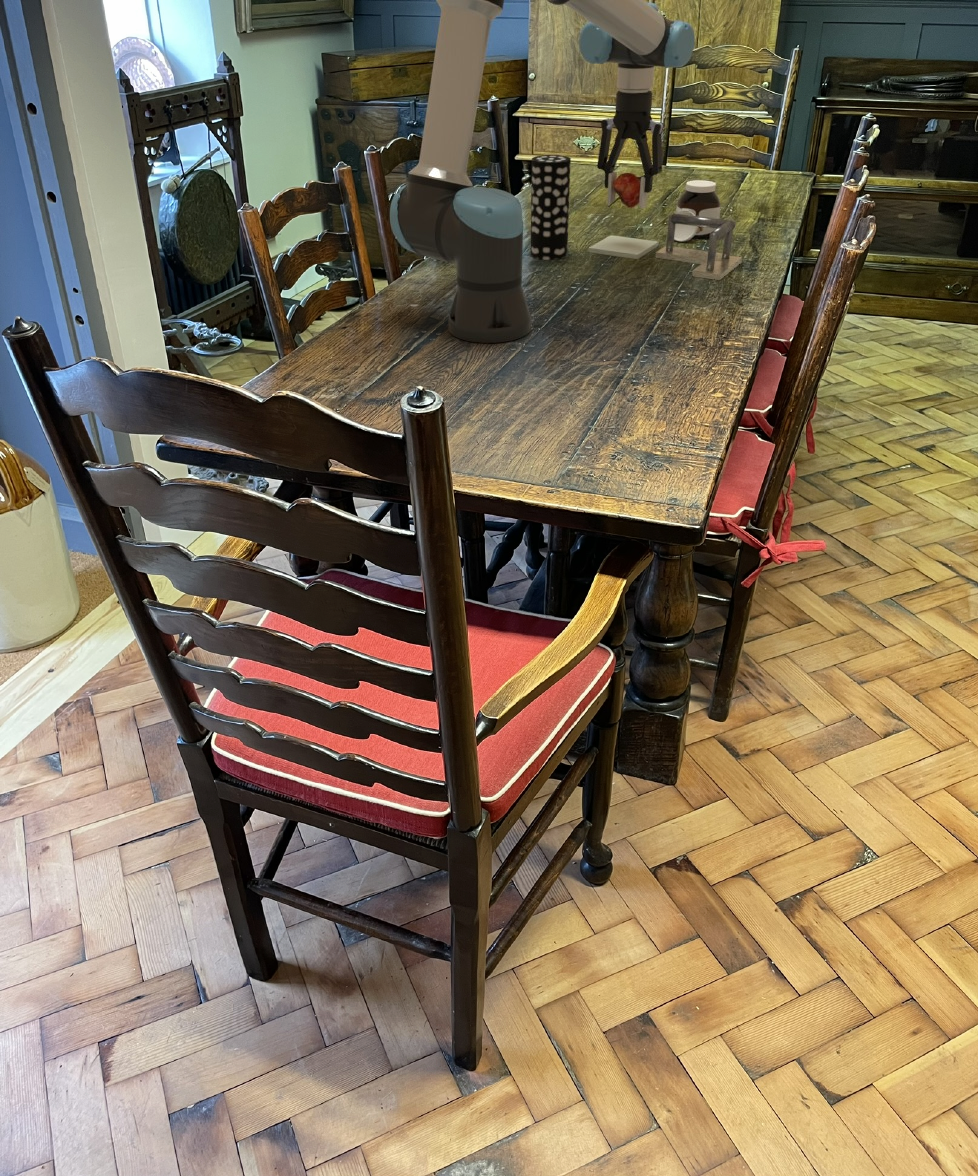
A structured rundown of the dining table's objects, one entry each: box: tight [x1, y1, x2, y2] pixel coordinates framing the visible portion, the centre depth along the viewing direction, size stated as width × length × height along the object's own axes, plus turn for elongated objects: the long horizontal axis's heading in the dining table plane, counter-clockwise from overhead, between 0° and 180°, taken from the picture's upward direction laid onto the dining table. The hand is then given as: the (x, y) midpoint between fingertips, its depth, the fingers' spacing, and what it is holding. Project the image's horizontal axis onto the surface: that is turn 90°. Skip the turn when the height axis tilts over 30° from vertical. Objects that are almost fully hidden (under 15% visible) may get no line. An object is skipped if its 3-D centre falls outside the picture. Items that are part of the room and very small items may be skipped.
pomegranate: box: [607, 172, 645, 209], centre depth 206 cm, size 7×7×10 cm
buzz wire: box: [655, 212, 743, 281], centre depth 200 cm, size 15×18×9 cm
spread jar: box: [674, 179, 721, 243], centre depth 217 cm, size 12×11×12 cm
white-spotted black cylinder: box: [530, 154, 572, 261], centre depth 204 cm, size 8×8×20 cm
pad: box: [588, 234, 660, 260], centre depth 213 cm, size 12×12×1 cm
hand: (626, 205), depth 208 cm, fingers closed on pomegranate, 7 cm apart
